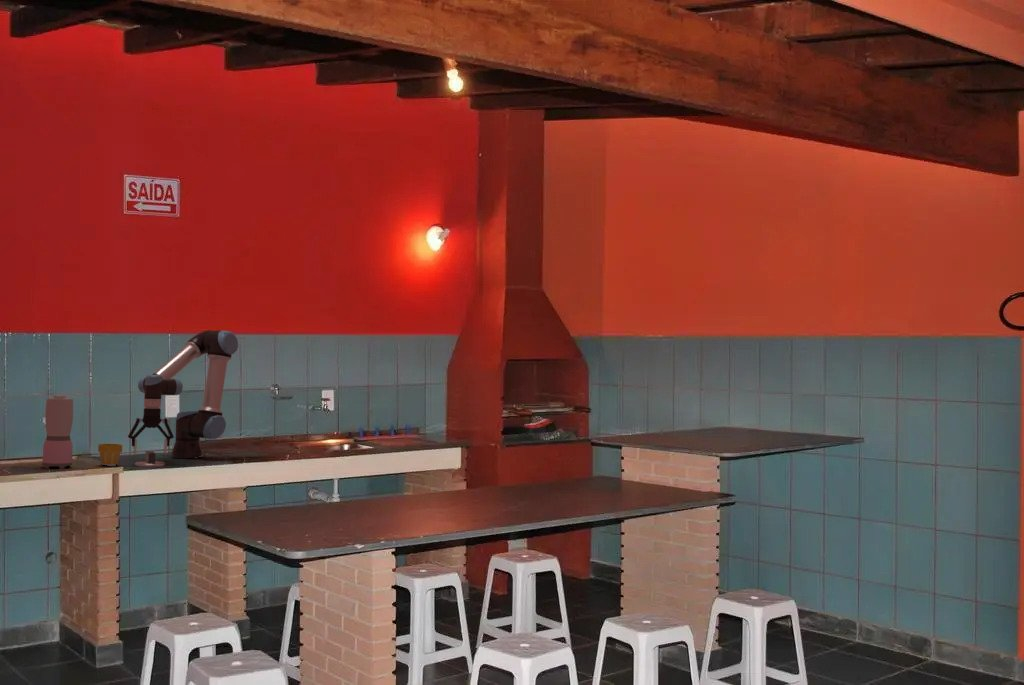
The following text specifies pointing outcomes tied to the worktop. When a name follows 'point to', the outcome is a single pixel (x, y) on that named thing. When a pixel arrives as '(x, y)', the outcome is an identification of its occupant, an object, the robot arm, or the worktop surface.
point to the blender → (58, 432)
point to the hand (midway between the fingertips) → (150, 453)
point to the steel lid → (150, 460)
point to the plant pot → (109, 453)
